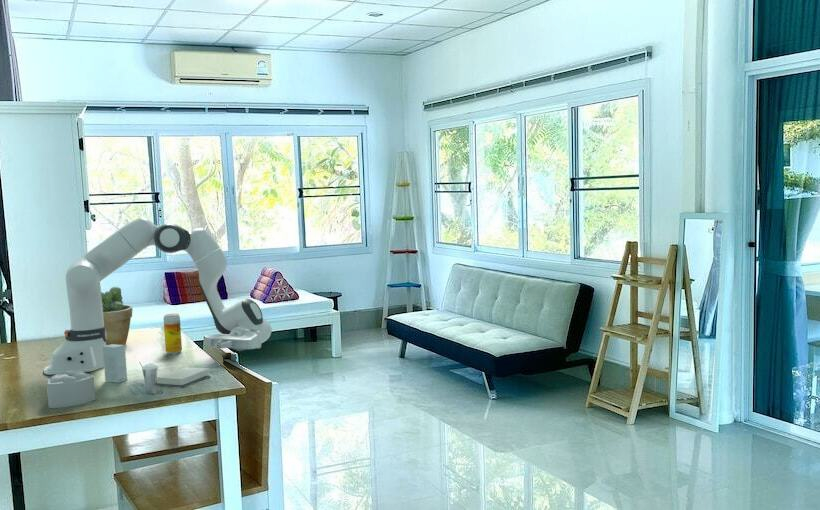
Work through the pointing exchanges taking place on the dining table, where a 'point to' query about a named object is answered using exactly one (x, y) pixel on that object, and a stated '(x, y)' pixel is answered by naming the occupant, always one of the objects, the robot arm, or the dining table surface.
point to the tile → (182, 376)
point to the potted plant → (115, 317)
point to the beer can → (172, 333)
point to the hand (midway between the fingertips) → (218, 346)
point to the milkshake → (150, 377)
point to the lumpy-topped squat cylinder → (70, 389)
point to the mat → (184, 384)
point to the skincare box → (114, 363)
